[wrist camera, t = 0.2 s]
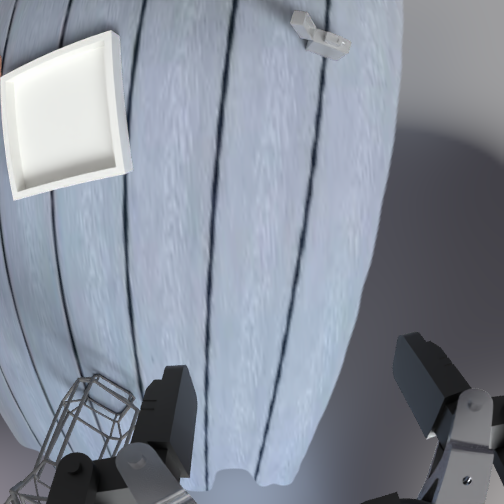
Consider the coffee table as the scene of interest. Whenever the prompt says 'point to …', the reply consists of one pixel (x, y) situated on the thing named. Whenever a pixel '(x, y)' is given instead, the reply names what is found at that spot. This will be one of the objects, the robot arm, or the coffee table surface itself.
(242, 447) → the coffee table surface
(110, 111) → the tray
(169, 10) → the coffee table surface
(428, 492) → the robot arm
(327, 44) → the lighter
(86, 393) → the geometric lantern
